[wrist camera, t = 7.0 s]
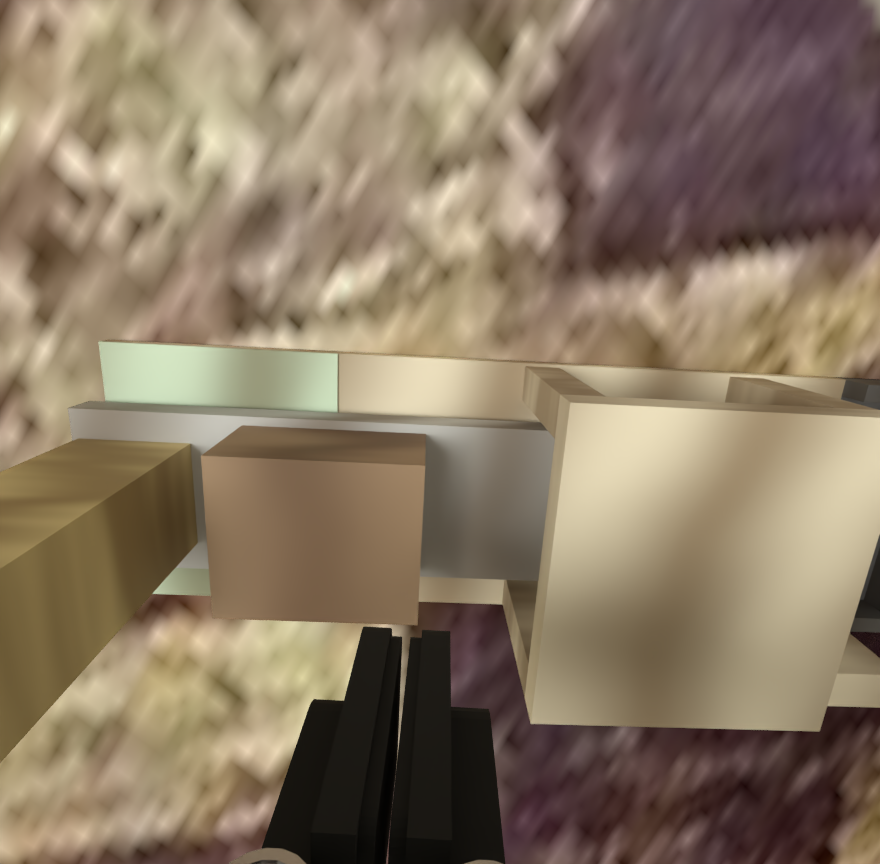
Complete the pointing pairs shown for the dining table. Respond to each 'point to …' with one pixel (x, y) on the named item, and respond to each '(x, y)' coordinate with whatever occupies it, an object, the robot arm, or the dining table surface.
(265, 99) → the dining table surface
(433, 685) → the robot arm
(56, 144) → the dining table surface
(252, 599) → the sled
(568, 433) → the tunnel
